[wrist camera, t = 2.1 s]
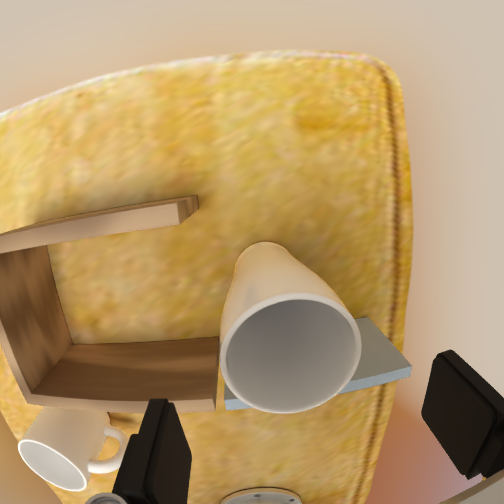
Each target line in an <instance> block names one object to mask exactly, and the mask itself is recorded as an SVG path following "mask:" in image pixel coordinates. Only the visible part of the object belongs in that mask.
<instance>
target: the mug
mask: <svg viewBox="0 0 504 504" xmlns="http://www.w3.org/2000/svg"><path fill="white" fill-rule="evenodd" d="M107 436H111V437H114V438H116V439H118V440H119V442H120V447H119V450H118V452H117V453H116V454H115V455H114V456H113V457H112V458H110V459H107V460H98V457H99V455H100V452H101V450H102V447H103V445H104V443H105V440H106V438H107ZM128 441H129V436H128V435H127V434H126V433H125V432H124V431H123V430H121V429H120V428H118V427H116V426H113V425H110V418H109V416H108V413H107V412H99V411H86V410H75V409H65V408H56V407H48V406H44V407H43V409H42V410H41V411H40V413H39V414H38V416H37V417H36V418H35V420H34V421H33V423H32V424H31V426H30V427H29V428H28V430H27V431H26V433H25V434H24V436H23V437H22V439H21V440H20V442H19V444H18V450H19V453H20V455H21V457H22V458H23V460H24V461H25V463H26V464H27V465H28V466H29V467H30V468H31V469H32V470H33V471H34V472H35V473H36V474H38V475H39V476H40V477H42V478H43V479H44V480H46V481H48V482H49V483H51V484H53V485H55V486H57V487H60V488H62V489H65V490H69V491H82V490H84V489H85V488H86V487H87V484H88V481H89V479H90V477H91V474H92V473H109V472H112V471H115V470H117V469H118V468H120V465H121V462H122V459H123V456H124V453H125V450H126V447H127V444H128Z"/></svg>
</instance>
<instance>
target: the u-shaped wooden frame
mask: <svg viewBox="0 0 504 504" xmlns="http://www.w3.org/2000/svg"><path fill="white" fill-rule="evenodd" d="M198 209H199V207H198V199H197V195H193V196H186V197H179V198H172V199H166V200H159V201H153V202H146V203H140V204H134V205H128V206H122V207H117V208H111V209H105V210H100V211H95V212H89V213H84V214H79V215H74V216H69V217H64V218H59V219H54V220H50V221H45V222H40V223H36V224H32V225H28V226H25V227H21V228H18V229H15V230H11V231H8V232H5V233H2V234H0V344H1V346H2V349H3V351H4V354H5V356H6V359H7V361H8V363H9V366H10V368H11V370H12V372H13V375H14V377H15V379H16V381H17V383H18V385H19V388H20V390H21V392H22V394H23V396H24V398H25V400H26V402H27V403H28V404H34V405H41V406H48V407H56V408H65V409H75V410H86V411H99V412H118V413H145V412H146V409H147V406H148V403H149V400H150V399H152V398H167V399H168V401H169V402H173V403H174V405H175V408H176V411H177V413H191V412H210V411H215V409H216V394H217V380H218V367H219V354H220V351H219V339H218V337H208V338H196V339H184V340H171V341H155V342H137V343H114V344H73V342H72V339H71V337H70V333H69V330H68V327H67V324H66V321H65V318H64V314H63V311H62V308H61V304H60V301H59V297H58V293H57V290H56V286H55V282H54V278H53V274H52V269H51V265H50V260H49V256H48V251H47V246H46V245H49V244H54V243H60V242H66V241H72V240H78V239H84V238H91V237H97V236H103V235H110V234H116V233H123V232H129V231H136V230H143V229H150V228H157V227H164V226H172V225H179V224H181V223H182V222H183V221H184V220H186V219H187V218H188V217H189V216H191V215H192V214H193V213H194V212H196V211H197V210H198Z"/></svg>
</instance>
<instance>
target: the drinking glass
mask: <svg viewBox="0 0 504 504" xmlns="http://www.w3.org/2000/svg"><path fill="white" fill-rule="evenodd" d="M361 350H362V342H361V335H360V331H359V328H358V326H357V323H356V321H355V320H354V318H353V317H352V315H351V314H350V312H349V311H348V309H347V308H346V306H345V305H344V303H343V302H342V301H341V299H340V298H339V297H338V296H337V294H336V293H335V292H334V291H333V290H332V288H331V287H330V286H329V285H328V284H327V283H326V282H325V281H324V280H323V279H322V278H320V277H319V276H318V275H317V274H315V273H314V272H313V271H312V270H310V269H309V268H308V267H306V266H305V265H304V264H302V263H301V262H300V261H298V260H297V259H296V258H294V257H293V256H292V255H291V254H290V253H289V251H288V250H286V249H285V248H284V247H282V246H281V245H279V244H276V243H273V242H259V243H255V244H253V245H251V246H249V247H247V248H246V249H245V250H244V251H243V252H242V253H241V254H240V256H239V257H238V259H237V261H236V264H235V269H234V276H233V279H232V282H231V285H230V288H229V292H228V295H227V298H226V301H225V305H224V308H223V312H222V318H221V325H220V340H219V351H220V368H221V373H222V376H223V378H224V381H225V383H226V384H227V386H228V388H229V389H230V390H231V392H232V393H233V394H234V395H235V396H236V397H237V398H238V399H240V400H241V401H242V402H244V403H245V404H247V405H249V406H251V407H253V408H255V409H258V410H261V411H265V412H269V413H277V414H289V413H297V412H302V411H306V410H309V409H312V408H315V407H317V406H319V405H322V404H324V403H325V402H327V401H329V400H330V399H332V398H333V397H334V396H336V395H337V394H338V393H339V392H340V391H341V390H342V389H343V388H344V387H345V386H346V385H347V384H348V382H349V381H350V380H351V378H352V377H353V375H354V373H355V371H356V369H357V367H358V364H359V361H360V357H361Z"/></svg>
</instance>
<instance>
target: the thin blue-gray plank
mask: <svg viewBox="0 0 504 504" xmlns="http://www.w3.org/2000/svg"><path fill="white" fill-rule="evenodd" d="M354 320H355V321H356V323H357V326H358V328H359V331H360V335H361V342H362V350H361V357H360V361H359V364H358V367H357V369H356V371H355V373H354V375H353V377H352V378H351V380H350V381H349V382H348V384H347V385H346V386H345V387H344V388H343V389H342V390H341V391H340V392H339V393H338V394H342V393H347V392H351V391H356V390H360V389H364V388H369V387H373V386H377V385H381V384H384V383H388V382H392V381H396V380H399V379H403V378H406V377H410V375H411V369H412V365H411V364H410V363H409V362H408V361H407V360H406V359H405V357H404V356H403V355H402V354H401V353H400V352H399V351H398V350H397V348H396V347H395V346H394V345H393V344H392V343H391V342H390V341H389V339H388V338H387V337H386V336H385V335H384V334H383V333H382V332H381V331H380V329H379V328H378V327H377V326H376V325H375V324H374V323H373V322H372V321H371V320H370V318H369V317H364V318H359V319H354ZM224 401H225V406H226V410H236V409H246V408H253V407H251V406H249V405H247V404H245V403H244V402H242V401H241V400H240V399H238V398H237V397H236V396H235V395H234V394H233V393H232V392H231V390H230V389H229V388H228V386H227V384H226V383H225V394H224Z"/></svg>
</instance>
